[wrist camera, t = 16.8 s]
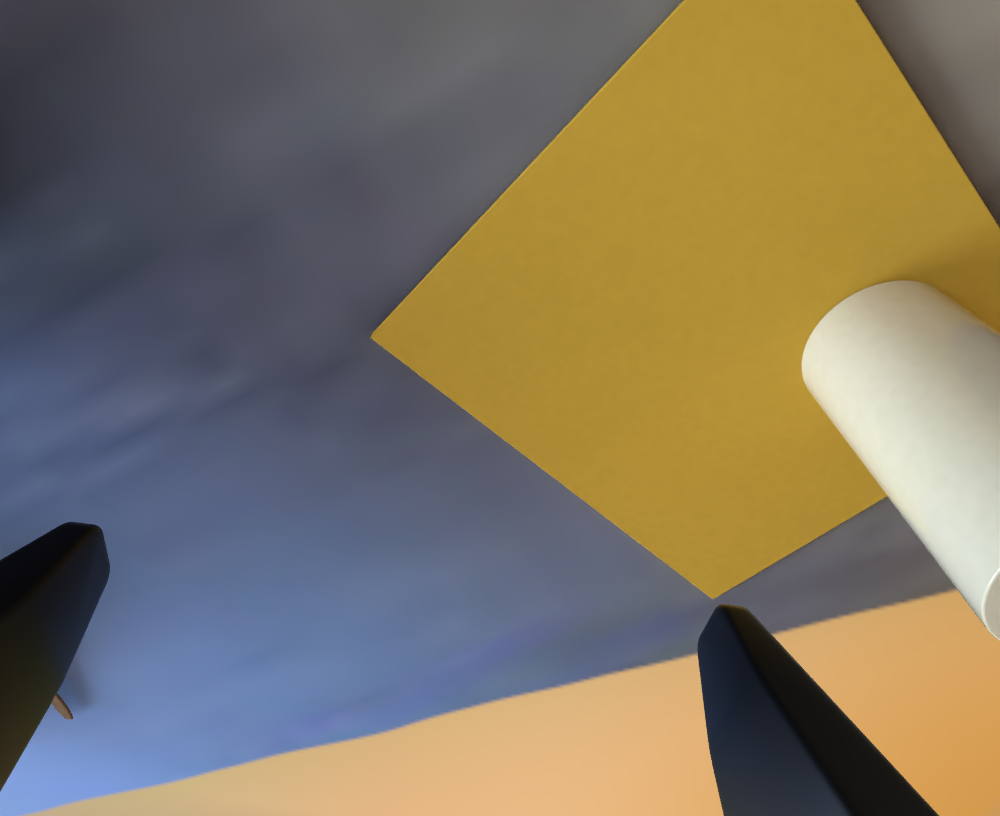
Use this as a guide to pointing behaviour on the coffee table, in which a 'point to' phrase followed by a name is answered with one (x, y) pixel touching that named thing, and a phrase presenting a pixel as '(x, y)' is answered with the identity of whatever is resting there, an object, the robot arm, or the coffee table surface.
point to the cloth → (702, 279)
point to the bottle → (921, 420)
